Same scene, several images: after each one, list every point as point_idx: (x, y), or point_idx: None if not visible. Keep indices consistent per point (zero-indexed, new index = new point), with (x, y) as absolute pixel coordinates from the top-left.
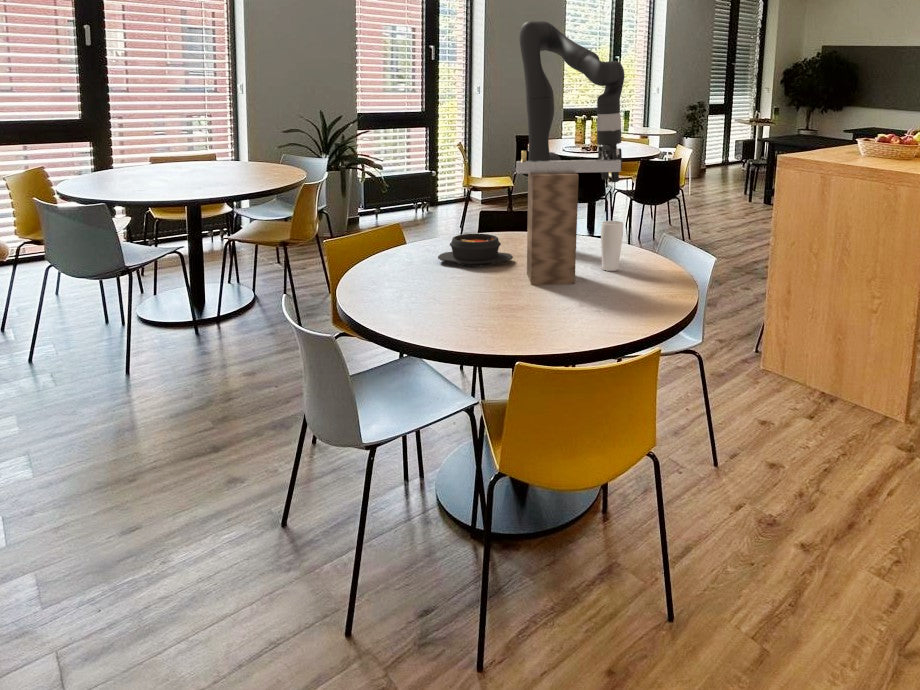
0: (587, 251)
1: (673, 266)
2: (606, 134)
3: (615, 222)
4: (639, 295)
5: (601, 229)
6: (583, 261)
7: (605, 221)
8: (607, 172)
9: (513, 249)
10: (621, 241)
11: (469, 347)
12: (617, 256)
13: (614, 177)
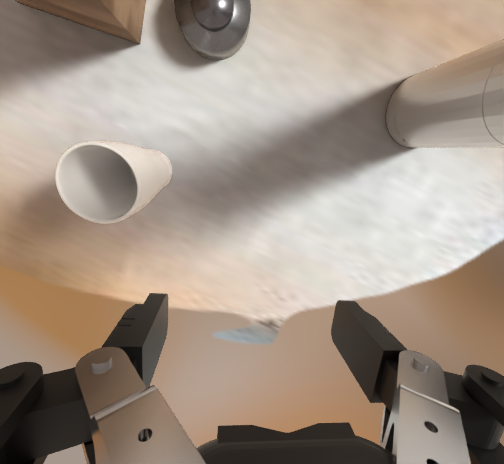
0: (339, 202)
1: None
2: None
3: (130, 209)
4: None
5: (112, 142)
6: (250, 146)
7: (133, 172)
8: (351, 359)
9: (455, 16)
10: (105, 198)
11: None
12: (119, 180)
13: (121, 318)
